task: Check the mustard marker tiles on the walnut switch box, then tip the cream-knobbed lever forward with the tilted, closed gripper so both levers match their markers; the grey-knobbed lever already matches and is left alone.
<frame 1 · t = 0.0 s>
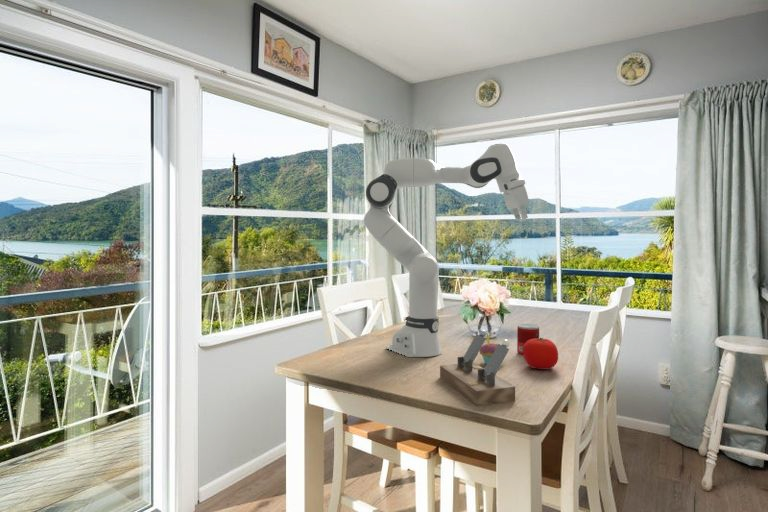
hand: (521, 219, 168), 52 cm above the table, tool tilted 20°, fingers open, 8 cm apart
cream knob lever: (497, 358, 127), point 11 cm above the table, hinge at -32.0°
cupcake: (491, 364, 158), on the table
tomato: (540, 368, 153), on the table
grey knob lever: (475, 347, 139), point 11 cm above the table, hinge at -32.0°
switch box: (474, 388, 133), on the table
canned food: (527, 354, 170), on the table
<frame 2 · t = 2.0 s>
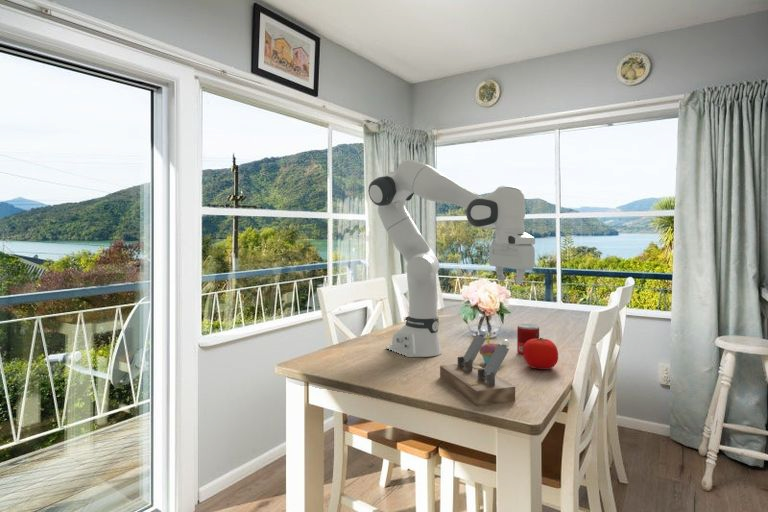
hand: (509, 282, 138), 31 cm above the table, tool pointing down, fingers open, 8 cm apart
nothing on the table moved.
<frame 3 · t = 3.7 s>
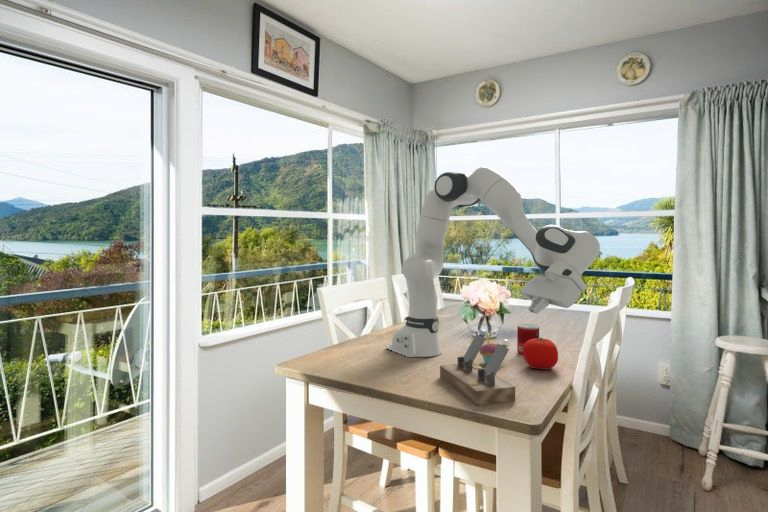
hand: (532, 311, 130), 24 cm above the table, tool tilted 45°, fingers closed
nothing on the table moved.
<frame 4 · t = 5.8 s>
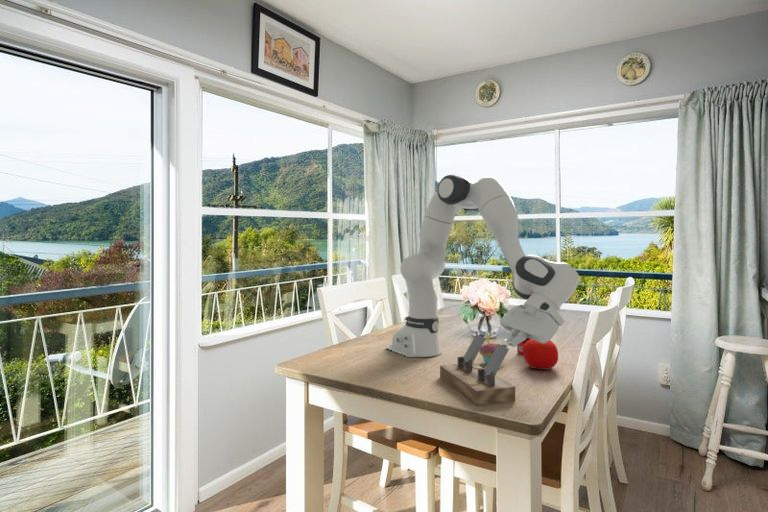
hand: (510, 344, 128), 14 cm above the table, tool tilted 45°, fingers closed, pressing on cream knob lever
cream knob lever: (497, 358, 127), point 11 cm above the table, hinge at -31.7°, touching gripper
everything else where it was.
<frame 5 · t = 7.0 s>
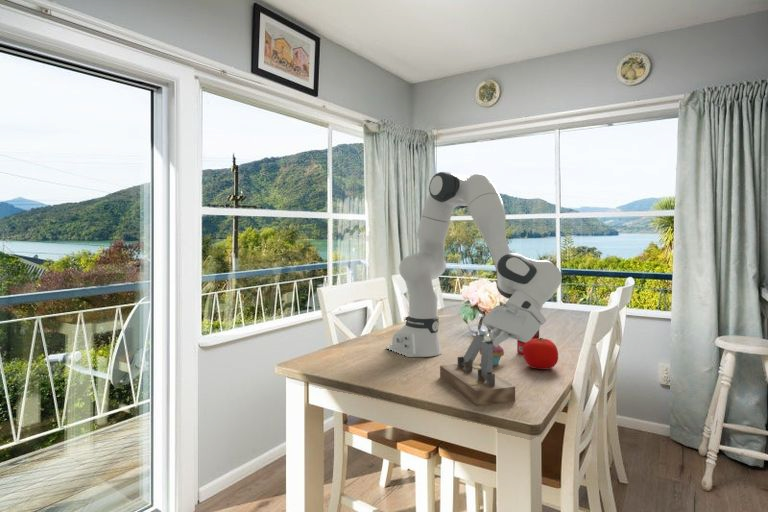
hand: (491, 344, 126), 15 cm above the table, tool tilted 45°, fingers closed, pressing on cream knob lever
cream knob lever: (487, 356, 126), point 12 cm above the table, hinge at -1.6°, touching gripper
everything else where it was.
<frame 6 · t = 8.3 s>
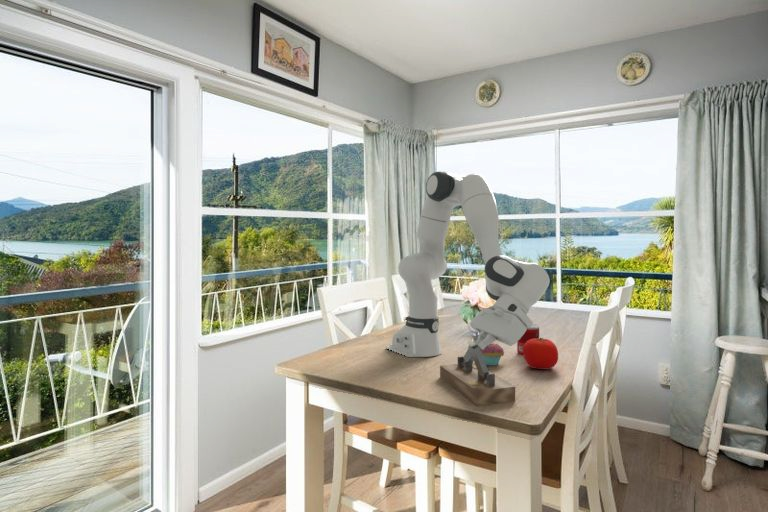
hand: (478, 347, 125), 14 cm above the table, tool tilted 45°, fingers closed, pressing on cream knob lever
cream knob lever: (478, 358, 125), point 11 cm above the table, hinge at 22.9°, touching gripper
everything else where it was.
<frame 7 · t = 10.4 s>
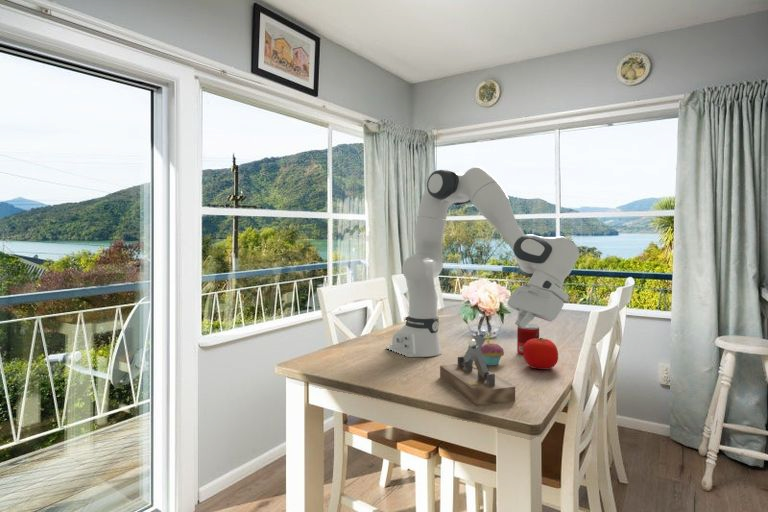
hand: (519, 326, 130), 19 cm above the table, tool tilted 35°, fingers closed
cream knob lever: (478, 358, 125), point 11 cm above the table, hinge at 22.9°
everything else where it was.
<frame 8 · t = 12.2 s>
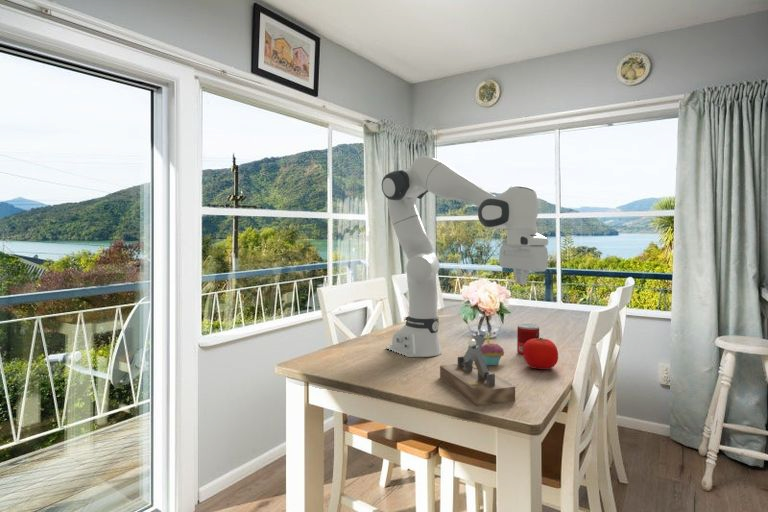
hand: (521, 284, 135), 31 cm above the table, tool pointing down, fingers closed
nothing on the table moved.
at the end: cream knob lever at +23° (first picture: -32°); grey knob lever at -32° (first picture: -32°) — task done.
